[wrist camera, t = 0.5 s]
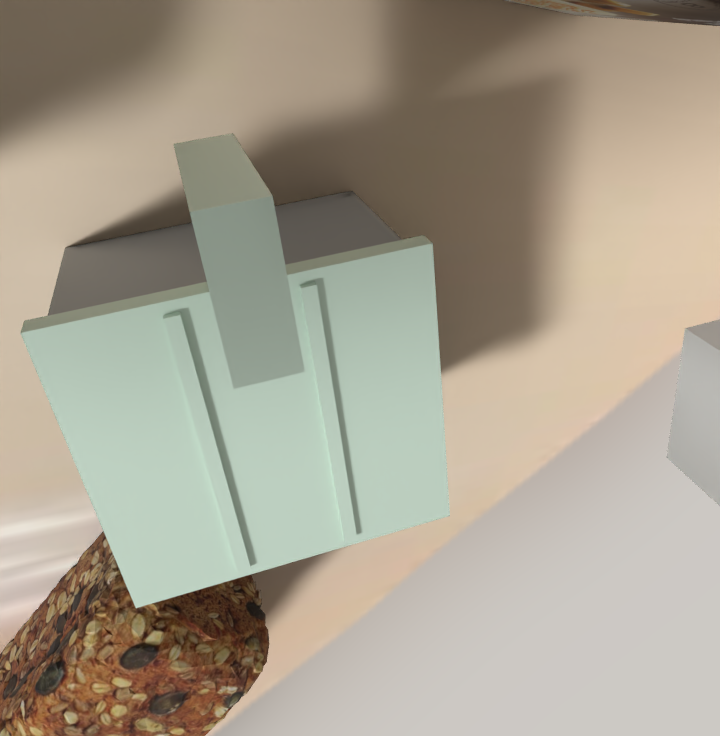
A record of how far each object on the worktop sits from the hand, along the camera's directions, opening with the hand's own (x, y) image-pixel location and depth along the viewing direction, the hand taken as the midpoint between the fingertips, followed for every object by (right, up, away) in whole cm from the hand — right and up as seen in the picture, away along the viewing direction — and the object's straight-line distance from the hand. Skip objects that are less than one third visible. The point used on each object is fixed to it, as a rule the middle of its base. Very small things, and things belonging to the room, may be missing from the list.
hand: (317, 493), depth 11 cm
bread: (-16, -15, +33) cm, 40 cm away
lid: (-3, +2, +17) cm, 17 cm away
